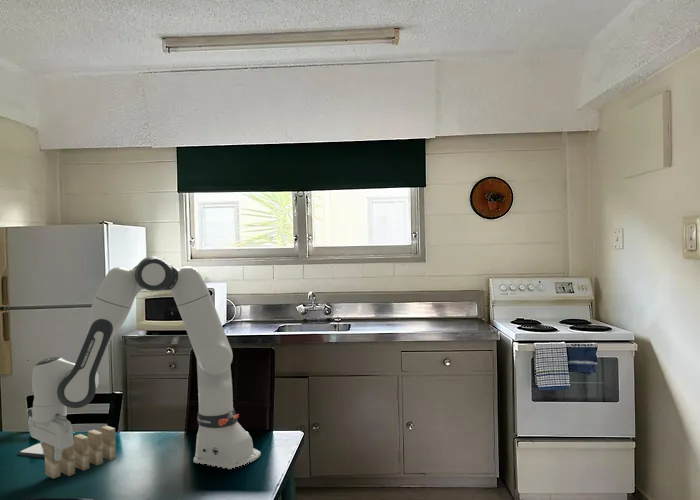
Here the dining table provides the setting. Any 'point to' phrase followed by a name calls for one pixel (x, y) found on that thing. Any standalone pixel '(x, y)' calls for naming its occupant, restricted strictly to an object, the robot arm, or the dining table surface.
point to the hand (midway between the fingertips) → (52, 456)
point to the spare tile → (51, 462)
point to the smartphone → (33, 451)
